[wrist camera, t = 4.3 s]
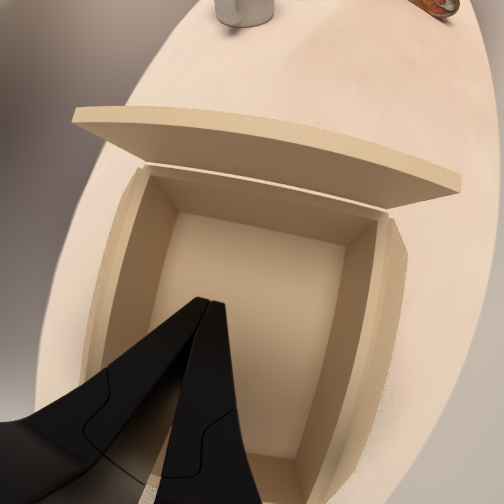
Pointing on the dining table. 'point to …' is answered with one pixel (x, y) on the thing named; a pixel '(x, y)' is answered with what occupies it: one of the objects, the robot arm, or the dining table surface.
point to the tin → (438, 7)
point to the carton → (263, 311)
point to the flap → (271, 152)
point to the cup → (244, 12)
